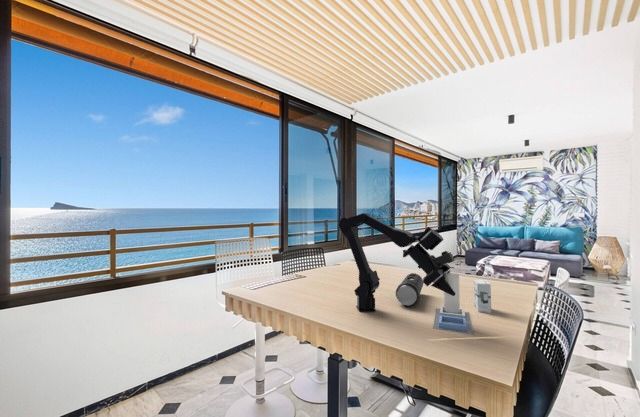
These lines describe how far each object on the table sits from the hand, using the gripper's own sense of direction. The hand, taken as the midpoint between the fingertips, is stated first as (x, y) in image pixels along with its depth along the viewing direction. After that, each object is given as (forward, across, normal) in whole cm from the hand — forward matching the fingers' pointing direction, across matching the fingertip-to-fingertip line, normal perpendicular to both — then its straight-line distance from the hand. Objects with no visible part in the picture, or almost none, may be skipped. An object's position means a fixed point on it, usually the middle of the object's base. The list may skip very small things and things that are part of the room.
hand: (456, 293), depth 98 cm
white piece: (+3, 0, +5) cm, 6 cm away
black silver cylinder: (-8, +24, +25) cm, 35 cm away
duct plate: (+6, +6, +10) cm, 13 cm away
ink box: (+12, +26, +4) cm, 29 cm away
